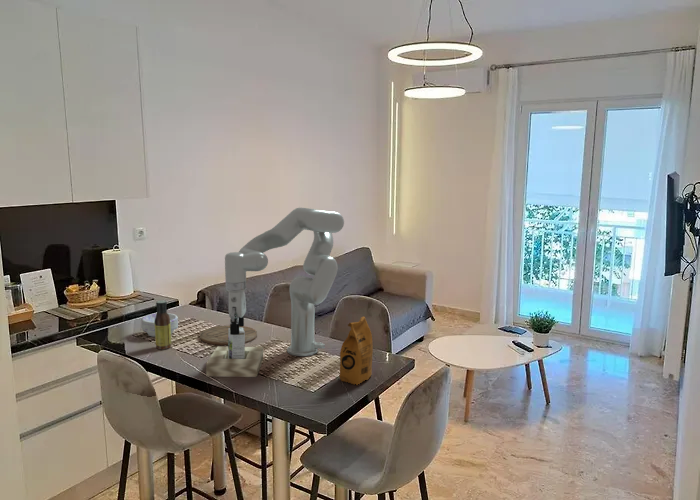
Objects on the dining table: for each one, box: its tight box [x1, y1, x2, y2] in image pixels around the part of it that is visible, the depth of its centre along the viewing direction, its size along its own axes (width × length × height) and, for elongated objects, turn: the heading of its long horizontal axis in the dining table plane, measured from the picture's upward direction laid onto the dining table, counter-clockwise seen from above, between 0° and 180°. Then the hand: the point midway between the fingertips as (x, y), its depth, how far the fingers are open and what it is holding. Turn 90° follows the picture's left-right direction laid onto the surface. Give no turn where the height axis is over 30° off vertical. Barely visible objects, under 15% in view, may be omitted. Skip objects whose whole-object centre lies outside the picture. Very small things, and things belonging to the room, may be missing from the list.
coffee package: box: [339, 316, 374, 386], centre depth 188 cm, size 10×12×22 cm
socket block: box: [205, 346, 264, 378], centre depth 197 cm, size 18×18×5 cm
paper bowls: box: [141, 312, 179, 338], centre depth 234 cm, size 15×15×8 cm
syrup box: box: [227, 327, 246, 359], centre depth 196 cm, size 6×6×14 cm
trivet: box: [199, 324, 258, 347], centre depth 233 cm, size 25×25×2 cm
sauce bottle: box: [154, 300, 172, 350], centre depth 215 cm, size 6×6×20 cm
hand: (237, 330), depth 195 cm, fingers open, 9 cm apart
